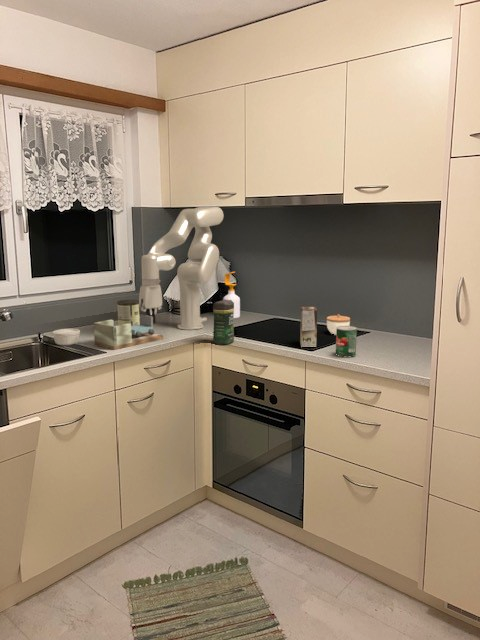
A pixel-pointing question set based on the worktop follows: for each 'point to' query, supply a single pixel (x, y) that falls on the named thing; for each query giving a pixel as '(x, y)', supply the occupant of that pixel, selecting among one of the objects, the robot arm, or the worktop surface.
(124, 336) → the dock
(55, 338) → the ramekin
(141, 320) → the trolley
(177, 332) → the worktop surface
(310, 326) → the coffee box
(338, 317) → the lidded jar
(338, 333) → the canned tomato
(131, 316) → the coffee can
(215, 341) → the coffee jar
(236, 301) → the soap bottle
